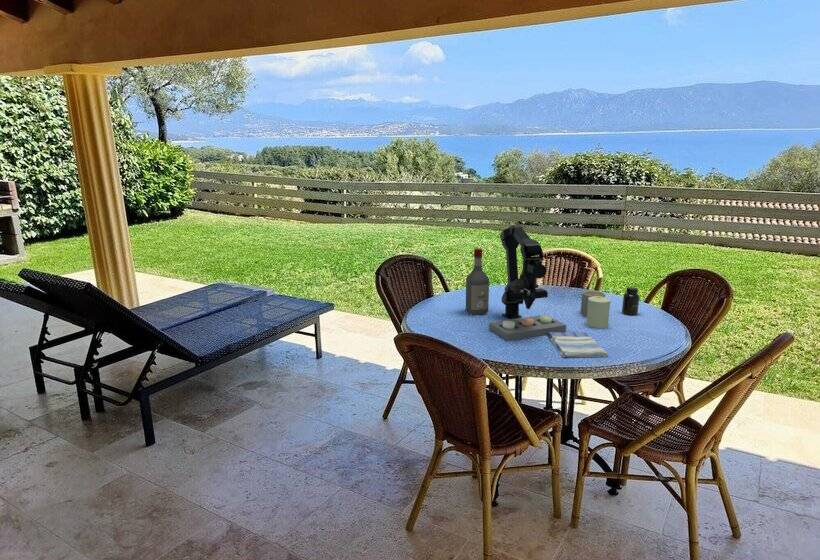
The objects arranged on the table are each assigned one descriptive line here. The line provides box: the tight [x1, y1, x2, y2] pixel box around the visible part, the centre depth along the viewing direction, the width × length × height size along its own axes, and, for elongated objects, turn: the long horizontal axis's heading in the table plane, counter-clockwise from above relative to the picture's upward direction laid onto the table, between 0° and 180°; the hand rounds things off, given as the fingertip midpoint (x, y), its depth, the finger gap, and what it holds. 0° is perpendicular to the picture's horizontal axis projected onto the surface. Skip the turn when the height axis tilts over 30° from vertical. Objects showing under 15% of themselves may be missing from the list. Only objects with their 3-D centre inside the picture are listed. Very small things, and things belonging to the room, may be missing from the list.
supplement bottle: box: [621, 286, 640, 316], centre depth 241 cm, size 7×7×12 cm
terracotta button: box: [521, 317, 534, 327], centre depth 221 cm, size 5×5×3 cm
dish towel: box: [547, 331, 609, 358], centre depth 204 cm, size 17×24×3 cm
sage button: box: [540, 314, 553, 324], centre depth 224 cm, size 5×5×3 cm
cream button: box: [502, 319, 515, 330], centre depth 218 cm, size 5×5×3 cm
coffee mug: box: [580, 289, 606, 318], centre depth 242 cm, size 13×10×10 cm
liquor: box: [465, 248, 490, 316], centre depth 243 cm, size 9×9×30 cm
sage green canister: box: [585, 296, 612, 329], centre depth 227 cm, size 9×9×12 cm
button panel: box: [488, 314, 567, 342], centre depth 221 cm, size 15×28×3 cm, turn 110°
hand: (527, 308), depth 220 cm, fingers closed
